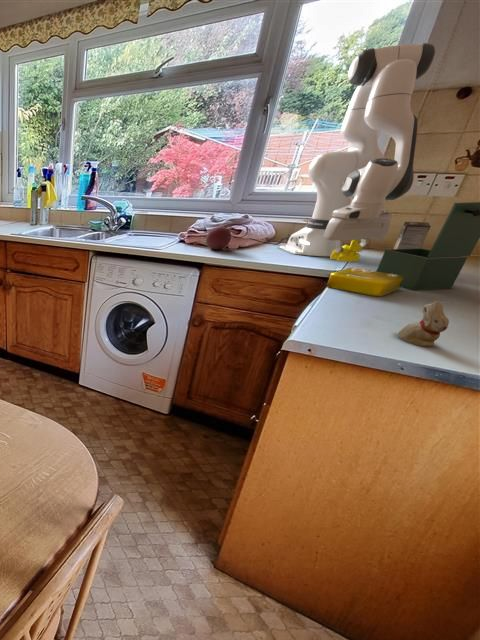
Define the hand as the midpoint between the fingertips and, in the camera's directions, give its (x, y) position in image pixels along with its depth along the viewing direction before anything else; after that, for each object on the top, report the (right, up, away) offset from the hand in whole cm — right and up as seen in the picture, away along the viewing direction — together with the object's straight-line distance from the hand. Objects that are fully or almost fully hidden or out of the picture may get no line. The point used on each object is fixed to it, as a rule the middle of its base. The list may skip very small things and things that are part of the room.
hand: (347, 252), depth 157 cm
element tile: (-10, -17, -16) cm, 26 cm away
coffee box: (+21, -6, +3) cm, 22 cm away
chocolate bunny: (-32, -38, -55) cm, 74 cm away
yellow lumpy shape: (0, -3, +2) cm, 3 cm away
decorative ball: (-24, +14, +43) cm, 51 cm away
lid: (+9, -2, -28) cm, 29 cm away
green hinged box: (+9, -14, -13) cm, 22 cm away
